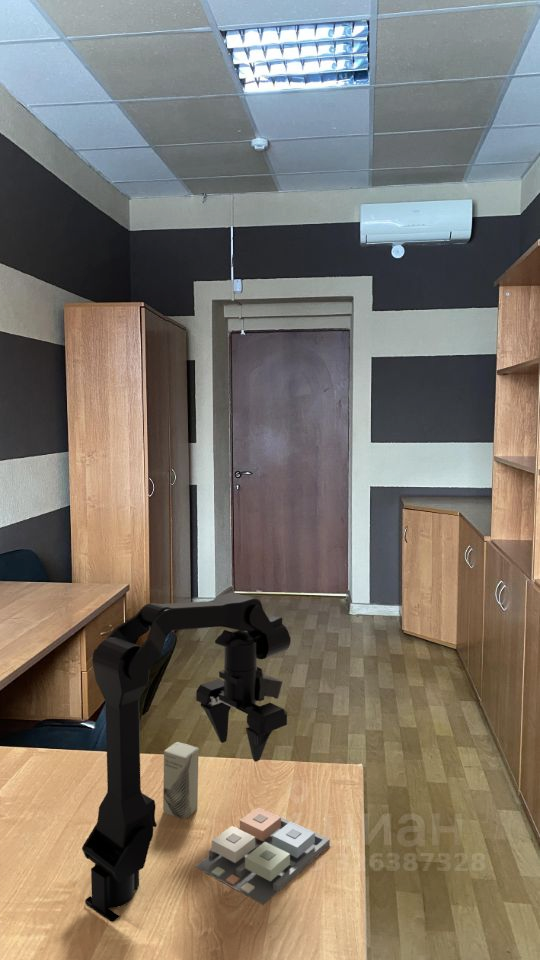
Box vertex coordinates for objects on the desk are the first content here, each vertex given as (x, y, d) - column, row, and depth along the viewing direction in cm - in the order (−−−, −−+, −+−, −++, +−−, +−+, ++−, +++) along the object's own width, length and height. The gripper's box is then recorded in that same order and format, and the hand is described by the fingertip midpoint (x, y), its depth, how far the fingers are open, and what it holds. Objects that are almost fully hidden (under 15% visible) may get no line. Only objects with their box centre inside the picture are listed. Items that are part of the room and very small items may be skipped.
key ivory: (235, 863, 109) (235, 851, 109) (211, 850, 112) (211, 839, 112) (255, 847, 113) (255, 836, 113) (232, 835, 116) (232, 825, 116)
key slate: (297, 858, 110) (297, 846, 110) (272, 846, 113) (272, 835, 113) (314, 842, 114) (314, 831, 114) (290, 831, 117) (290, 820, 117)
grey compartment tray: (263, 912, 102) (263, 898, 102) (194, 873, 111) (194, 860, 110) (329, 851, 116) (329, 839, 116) (264, 821, 125) (264, 809, 125)
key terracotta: (262, 841, 114) (262, 830, 114) (239, 830, 118) (239, 819, 117) (280, 827, 118) (280, 816, 118) (258, 816, 121) (258, 806, 121)
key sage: (270, 881, 105) (270, 869, 105) (245, 868, 108) (245, 856, 108) (289, 864, 109) (289, 853, 108) (264, 852, 112) (264, 840, 112)
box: (162, 818, 126) (161, 750, 124) (176, 806, 129) (175, 740, 128) (186, 826, 123) (185, 757, 122) (199, 813, 127) (199, 746, 126)
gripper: (310, 669, 120) (309, 756, 121) (241, 642, 133) (240, 720, 135) (262, 685, 112) (261, 777, 114) (194, 655, 126) (194, 738, 127)
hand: (239, 751), depth 123 cm, fingers open, 9 cm apart
